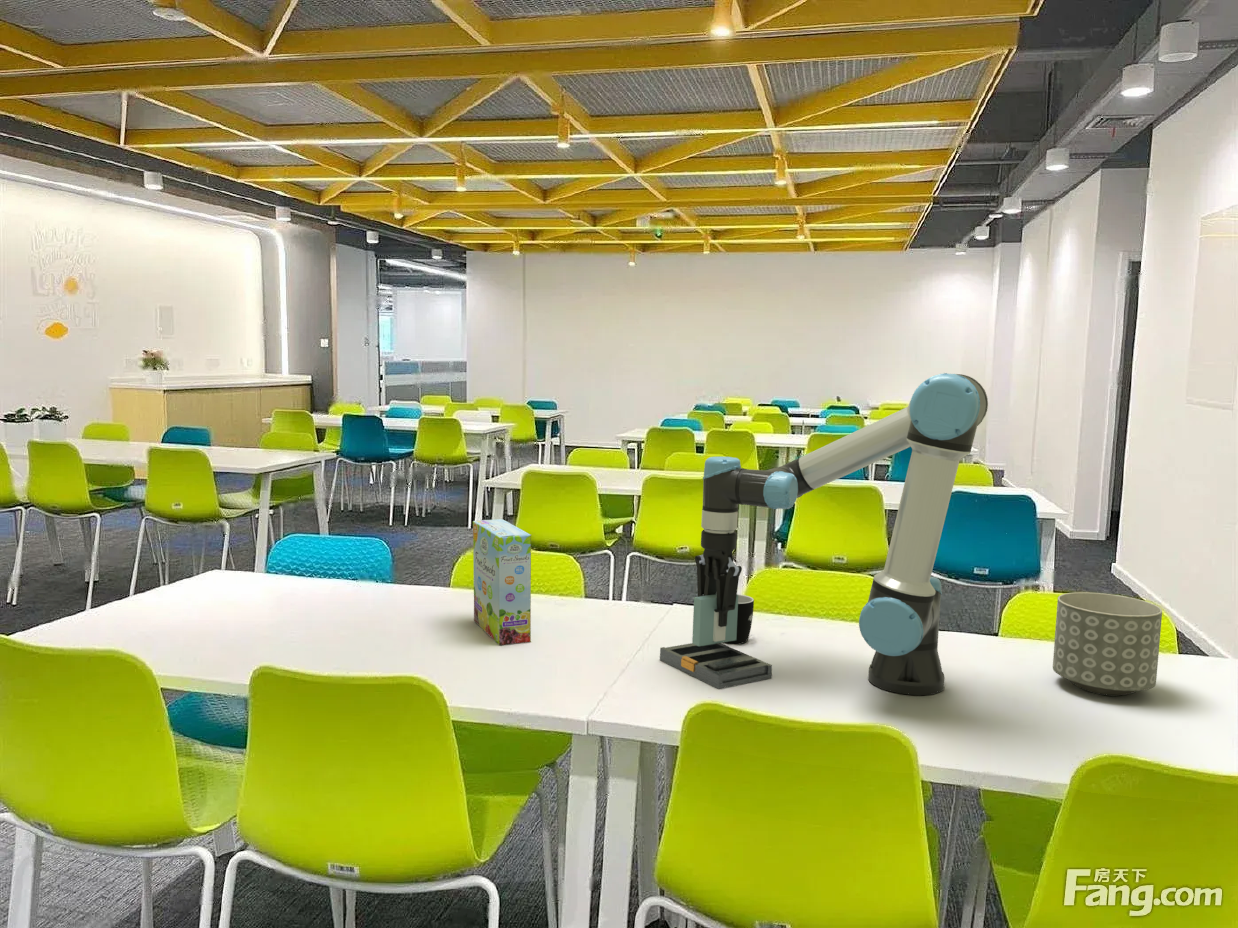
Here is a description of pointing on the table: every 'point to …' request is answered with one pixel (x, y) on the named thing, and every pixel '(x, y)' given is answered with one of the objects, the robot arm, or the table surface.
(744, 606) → the mug
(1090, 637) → the planter
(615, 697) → the table surface
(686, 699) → the table surface
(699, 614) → the block
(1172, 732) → the table surface
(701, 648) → the rack
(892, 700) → the table surface
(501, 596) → the snack box
